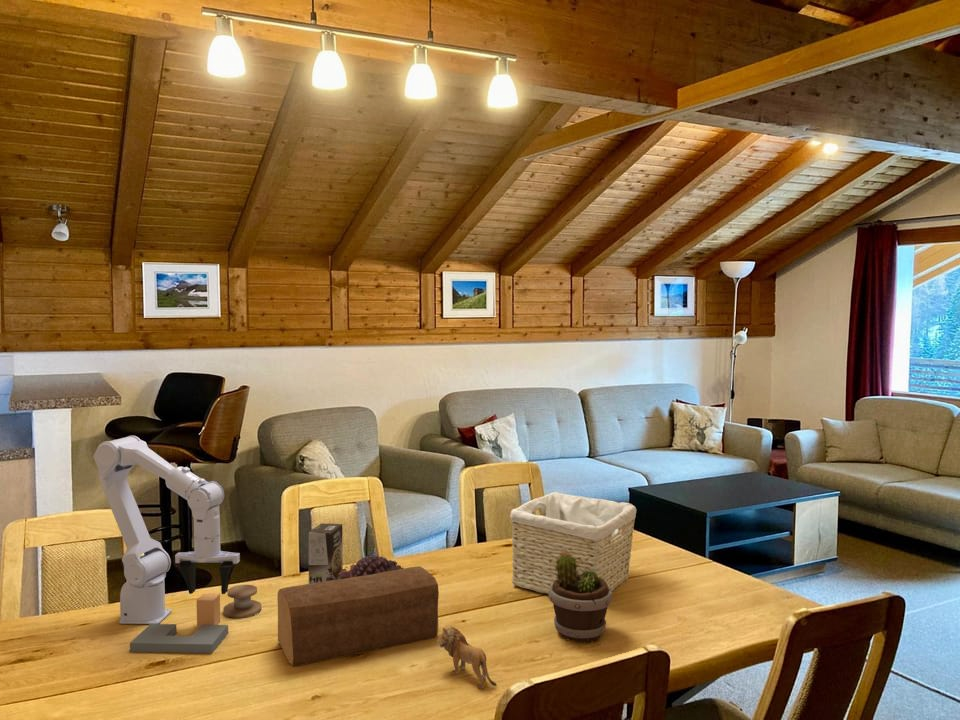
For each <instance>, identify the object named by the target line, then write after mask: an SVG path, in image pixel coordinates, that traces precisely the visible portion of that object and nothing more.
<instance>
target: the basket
mask: <svg viewBox="0 0 960 720" xmlns="http://www.w3.org/2000/svg"><path fill="white" fill-rule="evenodd" d="M535 511H538V512H539V515H537V514H534V512H535ZM636 514H637V508H636V506H635V505H633V504H632V503H629V502H624V501H622V502H617V501H615V500H607V499H605V498H594V497H593V498H592V497H588V496H586V497H585V496H583V495H582V496H580V495H572V494H571V495H570V494H567V493H561V492H558V491H554V492H553V491H552V492H550V493H547V494H546V495H543V496H540V497H537V498H534V499H532V500H531V499H530V501H527V502H525V503H523V504H522V505H520V506H518V507H516V508H513V509H511V511H510V516H509V517H510V521H511V524H512V525H511V527H512V528H511V531H512V532H511V535H512V538H511V540H512V562H511V565H512V577H511V578H512V579H511V584H512V585H514V586H517V587H520V588H522V589H528V590H530V591H531V590H532V591H535V592H537V593H539V592H540V594H547V595H549V588H550V586H551V585H552V584H553V583H554V581H555V580H556V579H558V578H555V577H556V575H558V573H557V572H558V571H555V570H554V569H555V567H557V565H556V564H557V563H556V562H557V560H558V559H559V558H560V556H562V554H563V552H564V553H565V550H566V553H568V552H569V553H570V552H571V551H572V552H571V554H572V555H570V556H571V557H574V559H575V558H576V559H577V560H575V561H576V562H575V563H576V564H577V565H578V567H579V568H578V567H577V568H576V572H577V570H578V572H579V573H578V574H577V575H581V574H582V573H584V572H585V570H586V571H589V569H591V570H592V569H595V571H596V572H595V571H594V570H592V571H593V572H595V573H596V574H597V576H598V577H599V578H602V579H603V580H605V582H606V583H607V585H608V587H610V588H611V590H612V592H613V591H614V590H615V589H616V588H617V587H618V586H621V584H622V583H623V582H625V581H627V580H628V579H629V573H630V562H631V561H630V560H631V557H632V554H631V552H632V545H633V538H634V537H633V533H634V527H635V519H636V517H637V516H636ZM564 548H565V549H564ZM561 551H562V552H561ZM559 555H560V556H559ZM567 555H568V554H567ZM557 556H559V557H557ZM555 561H556V562H555ZM579 565H580V566H579ZM591 566H592V567H591ZM588 567H589V568H588ZM590 567H591V568H590ZM587 568H588V569H587ZM583 570H584V571H583ZM555 574H556V575H555Z"/></svg>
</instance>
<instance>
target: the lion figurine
mask: <svg viewBox="0 0 960 720" xmlns="http://www.w3.org/2000/svg"><path fill="white" fill-rule="evenodd" d="M436 641H437V644H438V645H439V648H444V650H445V651H446V652H448V655H449V656H450V657H451V658H452V663H453V666H454V669H452V670H451V674H452V675H457V674H459V672H460V670H465V669H466V664H468V665H471V667H472V670H473V672H474V674H475V676H476V677H477V679H478V680H479V683H478V684H477V688H478V689H480V690H482V689H484V688H485V679H487V681H488V682H489V683H490V685H491V686H494V687H496V686H498V684H497V683H496V682H495V681H494V680H492V679H491V678H490V675H489V671H488V668H487V656H486V655H487V654H486V653H485V652H484V650H483V649H482V648H480V647H476V646H473V645H472V644H469V643H468V641H467V639H466V637H465V635H464V634H463V633H461V631H460V630H458V628H455V627H453V626H452V625H451V626H450V625H447V626H444V627H442V632H441V635H440V637H439V638H437V640H436ZM459 663H460V665H459ZM481 671H482V672H481Z"/></svg>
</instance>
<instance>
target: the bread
mask: <svg viewBox="0 0 960 720" xmlns="http://www.w3.org/2000/svg"><path fill="white" fill-rule="evenodd" d="M439 594H440V592H439V583H438V582H437V580H436V578H435V576H434V575H432V574H431V572H429V571H428V570H427V569H425V568H424V567H422V566H410V567H406V568H405V567H404V569H399V570H393V571H388V572H382V573H377V574H372V575H365V576H358V577H351V578H346V579H339V580H331V581H325V582H319V583H312V584H309V583H307V584H306V583H304V584H298V585H293V586H287V587H282V588H279V589H278V591H277V598H276V599H277V641H278V643H279V645H280V647H281V650H282V651H283V652H284V655H285V657H286V658H287V661H288V663H290V665H292V667H298V666H303V665H308V664H312V663H318V662H319V663H320V662H324V661H326V660H327V661H329V660H332V659H336V658H342V657H347V656H353V655H357V654H361V653H366V652H371V651H377V650H381V649H387V648H391V647H396V646H401V645H405V644H409V643H415V642H419V641H424V640H428V639H432V638H436V637H437V636H438V633H439V596H440V595H439Z"/></svg>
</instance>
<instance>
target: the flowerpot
mask: <svg viewBox="0 0 960 720" xmlns="http://www.w3.org/2000/svg"><path fill="white" fill-rule="evenodd" d="M564 549H565V548H564ZM561 552H562V551H561ZM571 552H572V551H571ZM571 552H570V553H569V552H568V553H566V550H565V553H564V552H563V554H562V556H560V555H559V556H560V558H559V559H558V560H557V562H556V561H555V562H556V563H557V564H556V565H557V567H555V569H554V570H555V571H558V572H557V573H558V575H556V574H555V575H556V577H555V578H558V579H556V580H555V581H554V583H553V584H552V585H551V586H550V588H549V594H548V600H549V601H550V602H551V603H552V606H553V610H554V614H555V616H554V618H553V623H554V628H555V629H556V631H557V632H558V635H559V636H561V637H562V638H564V639H566V640H568V641H571V642H576V643H577V642H581V643H586V642H588V641H589V642H593V641H594V642H595V641H596V640H598V639H600V637H601V636H602V634H604V632H605V630H606V626H607V620H606V619H605V618H606V615H607V611H608V607H609V606H610V605H611V604H612V603H613V591H612V590H611V588H610V587H608V585H607V583H606V582H605V580H603V579H602V578H599V577H598V576H597V574H596V573H595V572H596V571H595V569H592V570H594V571H595V572H593V571H592V570H591V569H589V571H586V570H585V572H584V573H582V574H581V575H577V574H578V573H579V572H578V570H577V572H576V568H577V567H578V565H577V564H576V563H575V562H576V561H575V560H577V559H576V558H575V559H574V557H571V556H570V555H572V554H571ZM567 554H568V555H567ZM559 556H557V557H559ZM579 566H580V565H579ZM591 567H592V566H591ZM591 567H590V568H591ZM578 568H579V567H578ZM588 568H589V567H588ZM588 568H587V569H588ZM583 571H584V570H583Z"/></svg>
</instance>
